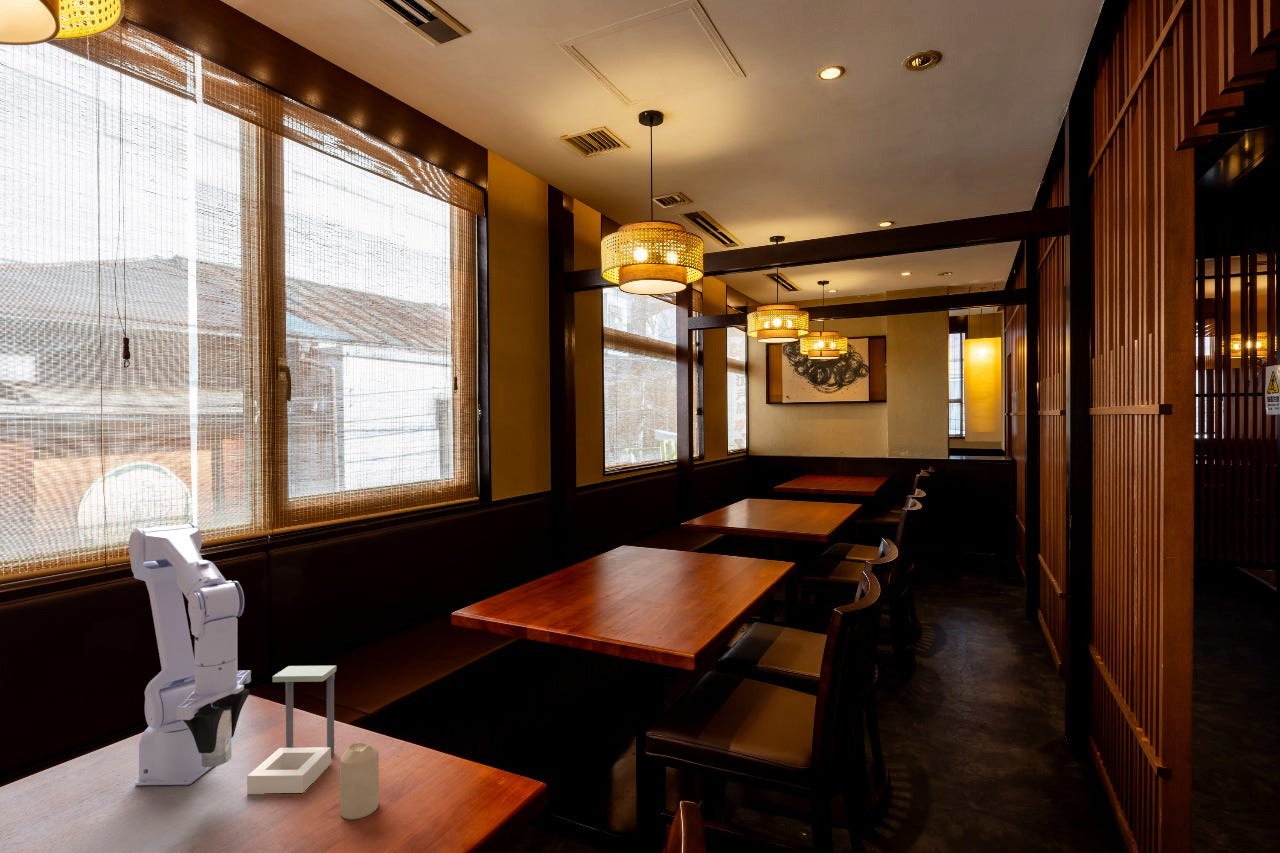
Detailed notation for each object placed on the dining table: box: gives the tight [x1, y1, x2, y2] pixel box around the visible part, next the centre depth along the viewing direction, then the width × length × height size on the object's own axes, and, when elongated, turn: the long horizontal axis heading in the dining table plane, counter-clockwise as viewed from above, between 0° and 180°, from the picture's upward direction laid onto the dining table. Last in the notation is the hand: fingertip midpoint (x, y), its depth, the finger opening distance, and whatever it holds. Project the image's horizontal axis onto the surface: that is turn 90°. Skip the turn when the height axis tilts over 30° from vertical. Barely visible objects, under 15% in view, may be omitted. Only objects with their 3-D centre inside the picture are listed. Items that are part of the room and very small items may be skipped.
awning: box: [272, 665, 337, 756], centre depth 113 cm, size 9×5×16 cm, turn 90°
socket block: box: [246, 746, 332, 795], centre depth 107 cm, size 9×9×3 cm
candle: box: [339, 742, 380, 820], centre depth 98 cm, size 6×6×10 cm
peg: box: [201, 705, 233, 768], centre depth 100 cm, size 4×4×8 cm
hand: (216, 744), depth 100 cm, fingers closed on peg, 4 cm apart
